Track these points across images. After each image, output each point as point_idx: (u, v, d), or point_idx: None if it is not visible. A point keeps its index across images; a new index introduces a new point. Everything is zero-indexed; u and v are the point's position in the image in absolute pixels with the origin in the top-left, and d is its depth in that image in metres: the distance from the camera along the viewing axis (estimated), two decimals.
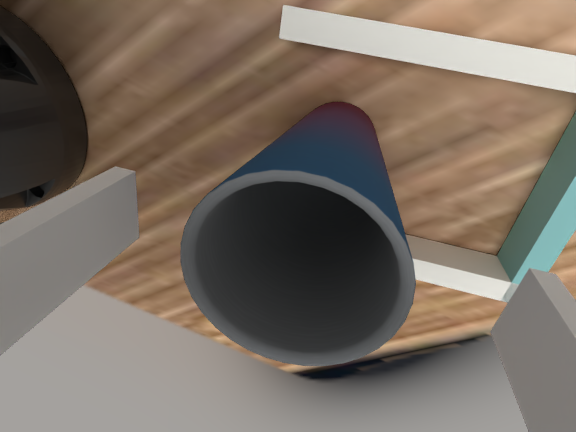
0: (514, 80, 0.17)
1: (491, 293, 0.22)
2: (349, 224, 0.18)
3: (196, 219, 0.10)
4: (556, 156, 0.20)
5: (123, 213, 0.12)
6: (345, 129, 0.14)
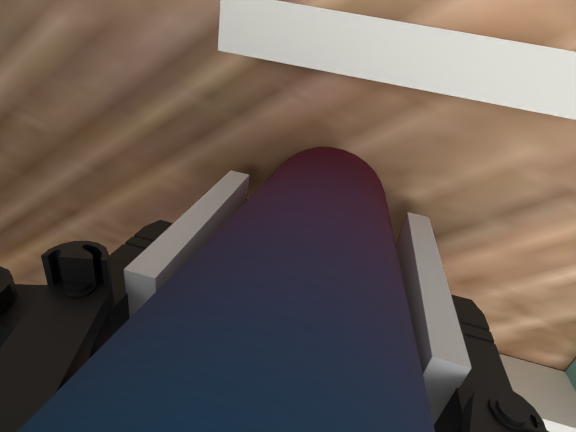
0: None
1: None
2: None
3: None
4: None
5: None
6: (324, 260, 0.06)
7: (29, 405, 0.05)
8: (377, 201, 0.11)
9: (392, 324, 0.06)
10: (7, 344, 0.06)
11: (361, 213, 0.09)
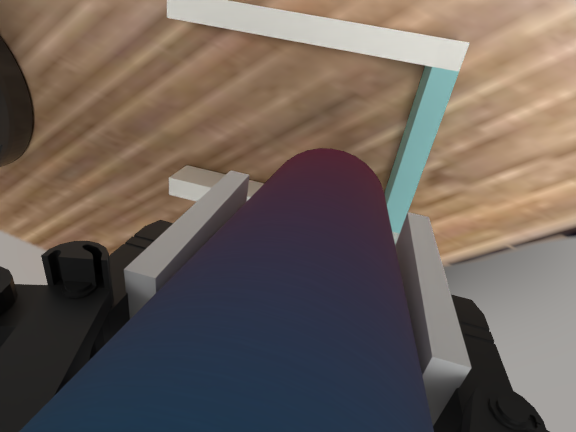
0: (350, 50, 0.21)
1: None
2: None
3: None
4: (409, 119, 0.24)
5: None
6: (324, 262, 0.06)
7: (29, 405, 0.05)
8: (377, 202, 0.11)
9: (392, 326, 0.06)
10: (7, 344, 0.06)
11: (361, 214, 0.09)
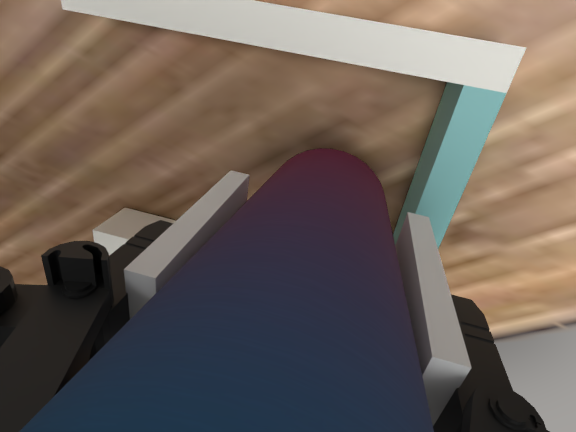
0: (335, 59, 0.13)
1: None
2: None
3: None
4: (423, 156, 0.17)
5: None
6: (324, 262, 0.06)
7: (29, 405, 0.05)
8: (377, 202, 0.11)
9: (392, 326, 0.06)
10: (7, 344, 0.06)
11: (361, 214, 0.09)
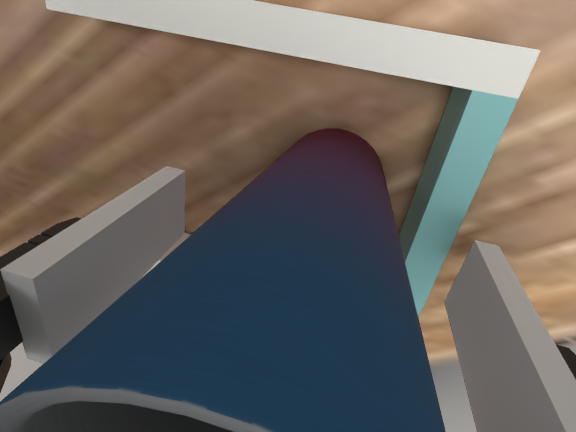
0: (335, 62, 0.13)
1: None
2: None
3: None
4: (427, 163, 0.16)
5: (174, 210, 0.13)
6: (336, 190, 0.09)
7: None
8: (375, 167, 0.14)
9: (385, 232, 0.09)
10: None
11: (362, 170, 0.12)
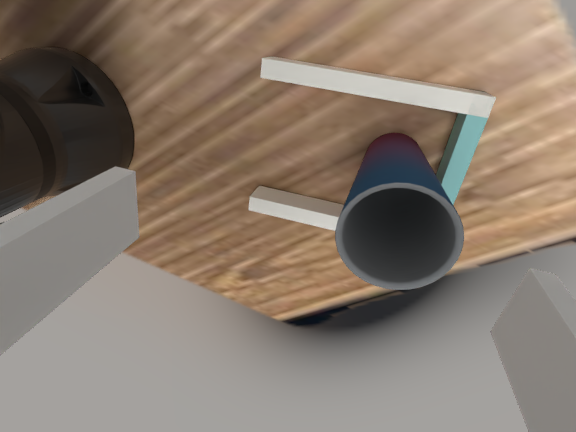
0: (403, 102, 0.27)
1: None
2: (409, 216, 0.27)
3: (349, 207, 0.19)
4: (446, 150, 0.31)
5: (123, 213, 0.12)
6: (413, 156, 0.24)
7: None
8: (421, 151, 0.28)
9: (432, 171, 0.23)
10: None
11: (418, 151, 0.26)
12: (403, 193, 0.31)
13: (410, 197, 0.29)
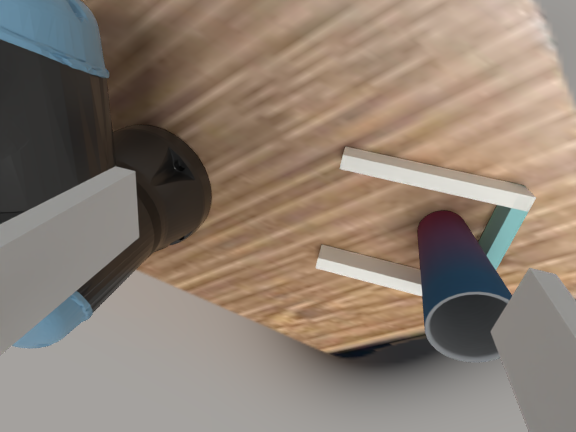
0: (459, 195, 0.34)
1: None
2: None
3: (440, 304, 0.26)
4: (488, 227, 0.37)
5: (123, 213, 0.12)
6: (475, 250, 0.30)
7: None
8: (471, 233, 0.35)
9: (490, 263, 0.30)
10: None
11: (473, 238, 0.33)
12: None
13: None
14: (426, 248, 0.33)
